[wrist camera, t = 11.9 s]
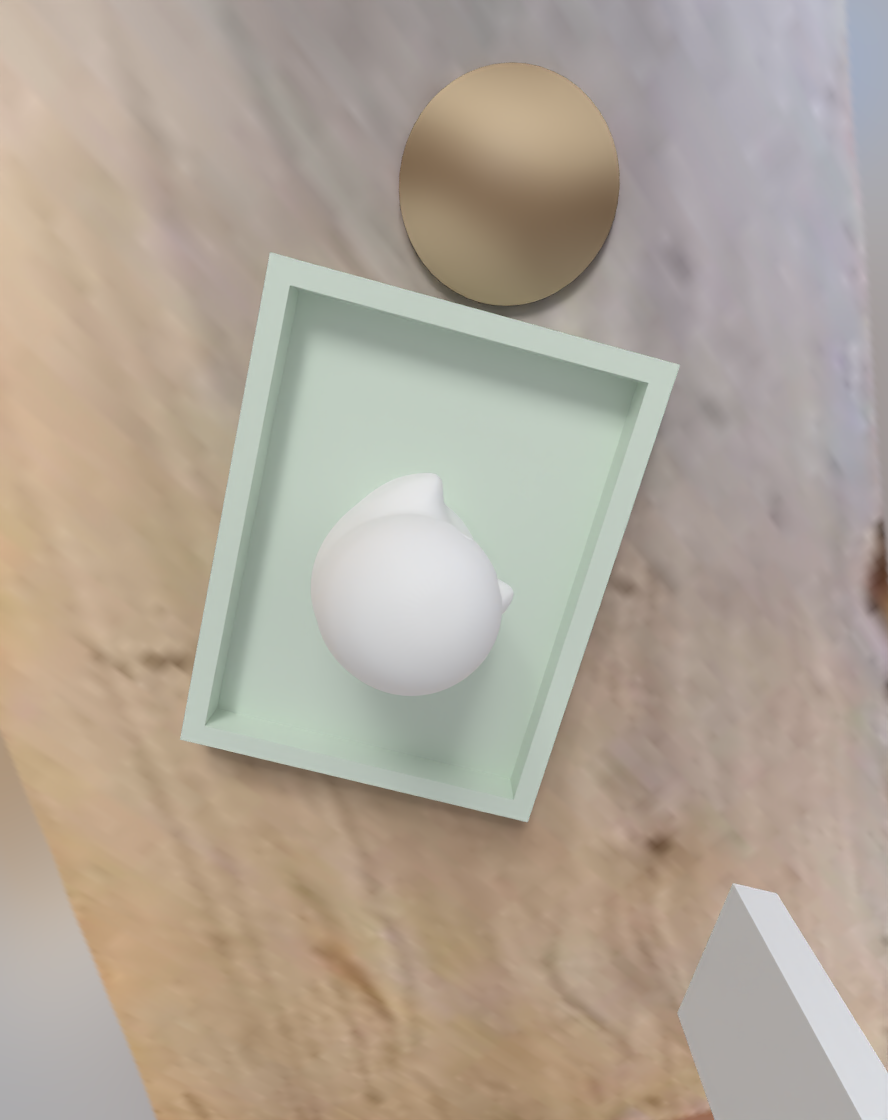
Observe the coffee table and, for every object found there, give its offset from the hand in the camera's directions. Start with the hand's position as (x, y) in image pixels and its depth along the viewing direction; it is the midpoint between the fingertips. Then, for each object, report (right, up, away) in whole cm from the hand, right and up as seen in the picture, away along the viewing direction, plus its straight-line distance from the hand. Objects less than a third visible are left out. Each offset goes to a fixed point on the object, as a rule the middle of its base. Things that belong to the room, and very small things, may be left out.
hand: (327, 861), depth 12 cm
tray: (+1, +5, +22) cm, 23 cm away
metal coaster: (+5, +20, +18) cm, 27 cm away
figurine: (0, +5, +22) cm, 22 cm away
